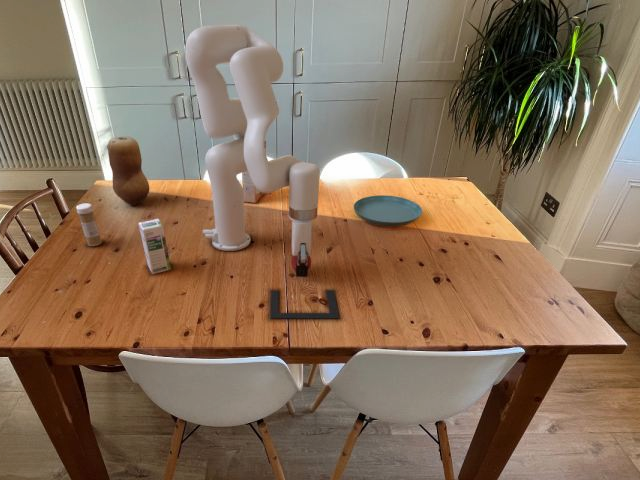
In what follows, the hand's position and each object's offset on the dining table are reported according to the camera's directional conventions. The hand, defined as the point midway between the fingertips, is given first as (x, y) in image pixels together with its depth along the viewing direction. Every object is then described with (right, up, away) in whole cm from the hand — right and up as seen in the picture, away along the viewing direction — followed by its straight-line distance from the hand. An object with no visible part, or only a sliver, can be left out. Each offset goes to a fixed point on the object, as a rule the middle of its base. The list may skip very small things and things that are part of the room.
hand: (301, 268), depth 117 cm
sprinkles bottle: (-67, +9, +17) cm, 69 cm away
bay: (0, -9, -11) cm, 14 cm away
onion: (0, -1, +1) cm, 2 cm away
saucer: (+34, +21, +32) cm, 51 cm away
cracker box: (-15, +32, +49) cm, 60 cm away
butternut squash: (-63, +28, +45) cm, 82 cm away
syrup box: (-42, 0, +4) cm, 42 cm away
